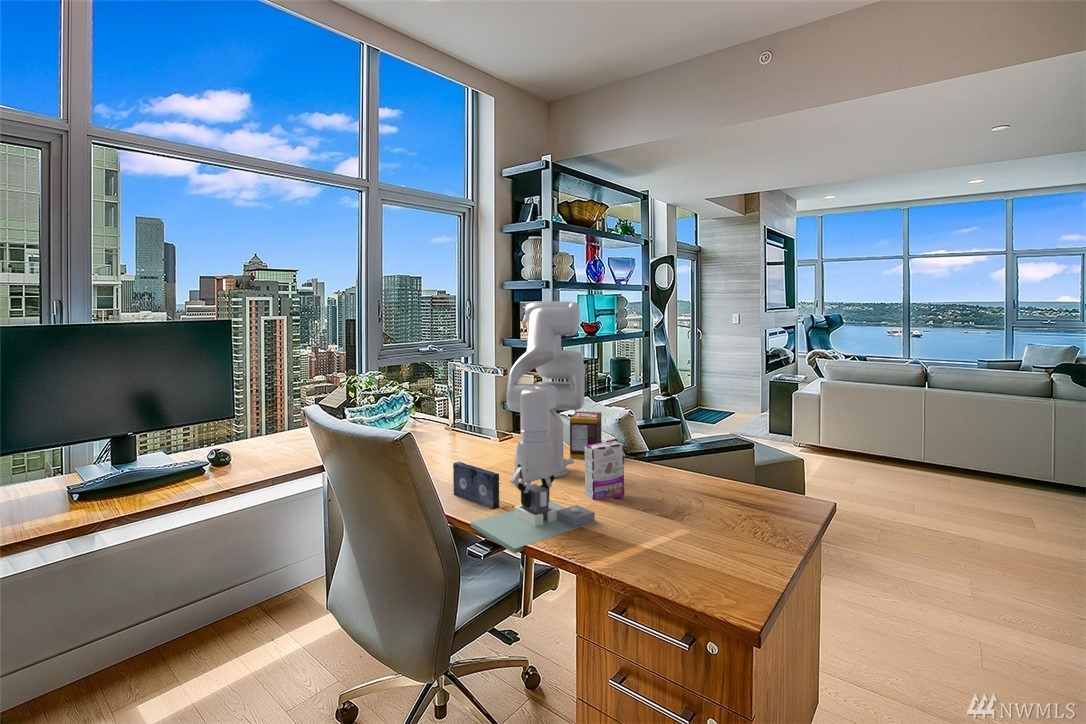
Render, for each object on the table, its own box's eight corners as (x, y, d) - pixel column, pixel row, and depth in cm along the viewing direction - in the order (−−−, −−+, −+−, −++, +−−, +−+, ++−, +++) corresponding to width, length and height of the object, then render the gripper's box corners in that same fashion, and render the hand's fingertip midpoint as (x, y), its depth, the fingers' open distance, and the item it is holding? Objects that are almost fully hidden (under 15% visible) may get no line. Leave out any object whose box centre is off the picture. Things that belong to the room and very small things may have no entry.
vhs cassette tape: (500, 507, 154) (499, 473, 153) (492, 510, 151) (491, 475, 151) (461, 492, 166) (460, 461, 166) (453, 495, 164) (452, 463, 163)
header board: (549, 504, 155) (549, 492, 155) (597, 525, 140) (597, 512, 139) (470, 526, 140) (470, 512, 139) (514, 553, 124) (514, 538, 124)
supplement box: (601, 449, 217) (601, 411, 216) (596, 459, 202) (596, 418, 201) (576, 448, 220) (576, 410, 218) (569, 458, 205) (569, 417, 203)
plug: (535, 512, 146) (534, 483, 145) (550, 520, 141) (550, 490, 140) (522, 516, 144) (522, 486, 143) (537, 523, 138) (537, 493, 138)
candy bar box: (614, 492, 165) (615, 440, 164) (624, 497, 161) (625, 443, 159) (583, 498, 160) (583, 444, 159) (592, 504, 156) (593, 448, 154)
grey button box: (576, 513, 145) (576, 502, 145) (594, 521, 140) (594, 510, 139) (556, 519, 141) (556, 508, 141) (574, 528, 135) (574, 516, 135)
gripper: (551, 429, 149) (552, 493, 150) (499, 438, 138) (500, 507, 140) (569, 433, 143) (569, 500, 144) (516, 443, 132) (516, 515, 134)
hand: (535, 503), depth 142 cm, fingers open, 5 cm apart
